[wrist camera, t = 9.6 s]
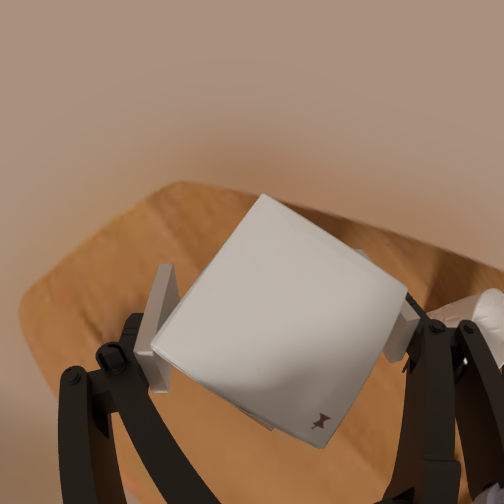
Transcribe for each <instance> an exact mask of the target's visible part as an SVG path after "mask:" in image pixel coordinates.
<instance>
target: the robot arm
mask: <svg viewBox="0 0 504 504" xmlns="http://www.w3.org/2000/svg"><path fill="white" fill-rule="evenodd" d="M355 251H357V252H358V253H360V254H361V255H363V256H364V257H366V258H367V259H369V260H370V261H371V262H373V261H372V260H371V259H370V258H369V257H368V256H367V255H366V254H365V253H364V252H363V250H362V249H356V250H355ZM179 302H180V297H179V292H178V287H177V282H176V277H175V272H174V267H173V263H170V264H160V265H159V268H158V271H157V274H156V277H155V280H154V283H153V286H152V289H151V292H150V296H149V299H148V302H147V305H146V309H145V312H144V313H132V314H131V315H130V316H129V318H128V319H127V320H126V322H125V325H124V329H123V331H122V335H121V337H120V340H119V342H109V343H106V344H104V345H102V346H101V347H100V348H99V349H98V350H97V352H96V360H97V362H98V364H99V366H100V368H101V369H99V370H95V371H91V372H86V370H85V369H84V368H83V367H81V366H72V367H69V368H68V369H66V370H65V371H64V372H63V374H62V376H61V379H60V391H59V408H58V409H59V410H58V450H59V451H58V453H59V470H60V481H61V489H62V497H63V504H127V502H126V498H125V494H124V489H123V485H122V481H121V476H120V471H119V466H118V461H117V455H116V449H115V443H114V436H113V429H112V420H111V413H114V412H119V414H120V417H121V419H122V421H123V423H124V426H125V428H126V430H127V432H128V434H129V436H130V438H131V441H132V443H133V445H134V447H135V449H136V451H137V453H138V454H139V456H140V458H141V460H142V462H143V464H144V466H145V467H146V469H147V471H148V473H149V475H150V476H151V478H152V480H153V481H154V483H155V485H156V486H157V488H158V490H159V491H160V493H161V494H162V496H163V498H164V499H165V501H166V502H167V504H221V503H220V502H219V500H218V499H217V498H216V497H215V495H214V494H213V493H212V492H211V490H210V489H209V488H208V487H207V485H206V484H205V483H204V481H203V480H202V479H201V477H200V476H199V475H198V473H197V472H196V471H195V469H194V468H193V466H192V465H191V464H190V462H189V461H188V459H187V458H186V456H185V455H184V453H183V452H182V450H181V449H180V447H179V446H178V444H177V443H176V441H175V440H174V438H173V436H172V435H171V433H170V432H169V430H168V428H167V427H166V425H165V423H164V422H163V420H162V418H161V417H160V415H159V413H158V411H157V410H156V408H155V406H154V404H153V402H152V401H151V399H150V397H149V395H148V389H149V387H150V389H151V391H152V392H158V393H169V386H170V377H171V368H172V364H170V363H169V362H168V361H166V360H165V359H164V358H162V357H161V356H159V355H158V354H157V353H156V352H155V351H154V350H153V349H152V348H151V346H150V343H151V340H152V339H153V338H154V336H155V335H156V334H157V332H158V331H159V330H160V328H161V327H162V325H163V324H164V323H165V321H166V320H167V319H168V317H169V316H170V314H171V313H172V312H173V310H174V309H175V308H176V306H177V305H178V304H179ZM382 351H383V353H384V354H385V356H386V358H387V360H388V361H389V363H393V362H396V361H400V360H402V359H403V357H404V355H405V353H406V352H407V353H408V355H409V358H408V360H407V362H406V364H405V366H404V368H403V371H402V373H404V372H405V370H406V369H407V373H406V388H405V400H404V410H403V418H402V426H401V433H400V439H399V445H398V451H397V456H396V461H395V466H394V471H393V475H392V479H391V482H390V484H389V486H388V487H387V489H386V491H385V493H384V496H383V498H382V501H379V502H377V503H374V504H457V501H458V494H459V487H460V478H461V464H460V462H459V461H456V460H455V459H454V450H455V417H456V421H457V426H458V430H459V435H460V440H461V445H462V450H463V456H464V462H465V468H466V475H467V482H468V488H469V492H470V495H471V498H472V501H473V504H504V364H503V372H502V375H501V372H500V370H499V368H498V366H497V363H496V361H495V359H494V357H493V355H492V353H491V351H490V349H489V346H488V344H487V342H486V341H485V339H484V337H483V335H482V333H481V331H480V329H479V327H478V326H477V325H476V324H475V323H474V322H473V321H471V320H466V319H465V320H461V321H460V322H459V324H458V326H457V327H446V325H445V324H444V323H443V322H441V321H439V320H436V319H430V318H429V317H428V316H427V314H426V313H425V312H424V311H423V310H422V308H421V307H420V306H419V305H418V304H417V302H416V301H415V300H414V299H413V298H412V297H411V295H410V294H409V293H408V292H407V295H406V297H405V300H404V303H403V305H402V308H401V310H400V313H399V315H398V317H397V320H396V322H395V324H394V326H393V328H392V331H391V333H390V335H389V337H388V339H387V341H386V344H385V346H384V348H383V350H382ZM465 358H466V360H467V363H466V364H465V362H464V359H465Z"/></svg>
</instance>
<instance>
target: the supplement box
mask: <svg viewBox="0 0 504 504" xmlns="http://www.w3.org/2000/svg"><path fill="white" fill-rule="evenodd" d="M407 292H408V288H407V286H405V285H404V284H403V283H401V282H400V281H399V280H397V279H396V278H394V277H393V276H391V275H390V274H389V273H387V272H386V271H384V270H383V269H381V268H380V267H379V266H377V265H376V264H374V263H373V262H371V261H370V260H369V259H367V258H366V257H364V256H363V255H361V254H360V253H358V252H357V251H355V250H354V249H352V248H351V247H349V246H348V245H346V244H345V243H343V242H342V241H340V240H339V239H337V238H336V237H334V236H333V235H331V234H329V233H328V232H326V231H325V230H323V229H322V228H320V227H319V226H317V225H315V224H314V223H312V222H311V221H309V220H308V219H306V218H304V217H303V216H301V215H300V214H298V213H296V212H295V211H293V210H292V209H290V208H288V207H287V206H285V205H283V204H282V203H280V202H278V201H277V200H275V199H273V198H272V197H270V196H269V195H267V194H265V193H262V194H261V195H260V197H259V198H258V200H257V201H256V202H255V204H254V205H253V206H252V208H251V209H250V210H249V212H248V213H247V214H246V216H245V217H244V218H243V220H242V221H241V222H240V224H239V225H238V226H237V227H236V229H235V230H234V231H233V233H232V234H231V235H230V237H229V238H228V239H227V240H226V242H225V243H224V244H223V246H222V247H221V248H220V250H219V251H218V252H217V253H216V255H215V256H214V257H213V259H212V260H211V261H210V263H209V264H208V265H207V266H206V268H205V269H204V270H203V272H202V273H201V274H200V276H199V277H198V278H197V280H196V281H195V282H194V284H193V285H192V286H191V288H190V289H189V290H188V292H187V293H186V294H185V296H184V297H183V298H182V300H181V301H180V302H179V304H178V305H177V306H176V308H175V309H174V310H173V312H172V313H171V314H170V316H169V317H168V319H167V320H166V321H165V323H164V324H163V325H162V327H161V328H160V330H159V331H158V332H157V334H156V335H155V336H154V338H153V339H152V340H151V343H150V346H151V348H152V349H153V350H154V351H155V352H156V353H157V354H158V355H159V356H161V357H162V358H164V359H165V360H166V361H168V362H169V363H170V364H172V365H173V366H174V367H176V368H177V369H179V370H180V371H182V372H183V373H185V374H186V375H187V376H189V377H190V378H192V379H193V380H195V381H196V382H198V383H199V384H201V385H202V386H204V387H205V388H207V389H208V390H210V391H212V392H213V393H215V394H216V395H218V396H219V397H221V398H223V399H224V400H226V401H228V402H229V403H231V404H232V405H234V406H235V407H237V408H238V409H240V410H242V411H243V412H245V413H247V414H249V415H251V416H254V417H256V418H257V419H259V420H261V421H263V422H265V423H267V424H269V425H271V426H272V427H274V428H276V429H278V430H280V431H282V432H284V433H286V434H288V435H290V436H292V437H294V438H296V439H298V440H301V441H303V442H305V443H307V444H309V445H311V446H313V447H316V448H318V449H324V448H325V446H326V445H327V443H328V442H329V440H330V439H331V437H332V436H333V434H334V433H335V431H336V430H337V428H338V427H339V425H340V423H341V422H342V420H343V419H344V417H345V415H346V414H347V412H348V411H349V409H350V407H351V406H352V404H353V403H354V401H355V399H356V398H357V396H358V394H359V392H360V391H361V389H362V387H363V385H364V384H365V382H366V380H367V379H368V377H369V375H370V373H371V371H372V369H373V367H374V365H375V363H376V362H377V360H378V358H379V356H380V354H381V352H382V350H383V348H384V346H385V344H386V341H387V339H388V337H389V335H390V333H391V331H392V328H393V326H394V324H395V322H396V320H397V317H398V315H399V313H400V310H401V308H402V305H403V303H404V300H405V297H406V295H407Z"/></svg>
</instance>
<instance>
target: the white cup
mask: <svg viewBox="0 0 504 504" xmlns="http://www.w3.org/2000/svg"><path fill="white" fill-rule="evenodd" d="M426 314H427V316H428V317H429V318H430V319H436V320H439V321H441V322H443V323H444V324H445V325H446V327H457V326H458V324H459V322H460V321H461V320H465V319H466V320H471V321H473V322H474V323H475V324H476V325H477V326H478V327H479V329H480V331H481V333H482V335H483V337H484V339H485V341H486V342H487V344H488V346H489V349H490V351H491V353H492V355H493V357H494V359H495V361H496V363H497V366H498V368H499V369H500V368H501V367H502V366H503V364H504V294H503V292H501V291H500V290H498V289H496V288H490V289H487V290H485V291H482V292H479V293H477V294H474V295H471V296H469V297H466V298H463V299H460V300H458V301H455V302H452V303H450V304H447V305H444V306H443V307H441V308H438V309H435V310H432V311H430V312H427V313H426ZM464 362H465V364H466V363H467V360H466V358H465V359H464Z"/></svg>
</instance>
